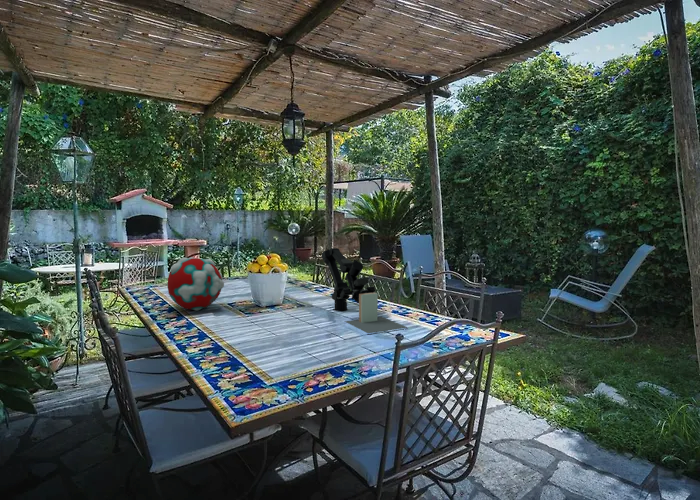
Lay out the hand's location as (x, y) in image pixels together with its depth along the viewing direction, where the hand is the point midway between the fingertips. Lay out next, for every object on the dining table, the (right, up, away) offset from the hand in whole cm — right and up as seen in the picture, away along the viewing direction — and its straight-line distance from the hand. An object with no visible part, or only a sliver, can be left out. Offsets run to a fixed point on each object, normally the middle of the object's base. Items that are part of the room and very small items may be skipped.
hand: (363, 305), depth 213 cm
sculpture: (-95, -6, +25) cm, 99 cm away
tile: (+2, -7, -4) cm, 8 cm away
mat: (+6, -8, -10) cm, 14 cm away
